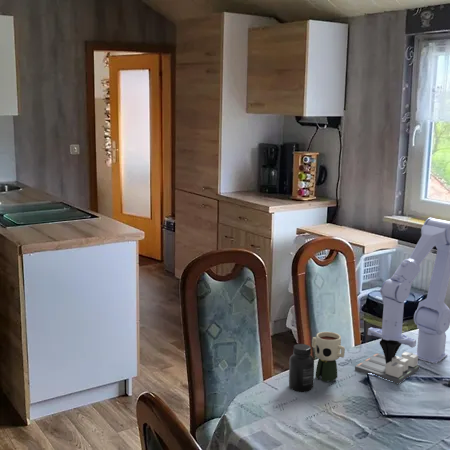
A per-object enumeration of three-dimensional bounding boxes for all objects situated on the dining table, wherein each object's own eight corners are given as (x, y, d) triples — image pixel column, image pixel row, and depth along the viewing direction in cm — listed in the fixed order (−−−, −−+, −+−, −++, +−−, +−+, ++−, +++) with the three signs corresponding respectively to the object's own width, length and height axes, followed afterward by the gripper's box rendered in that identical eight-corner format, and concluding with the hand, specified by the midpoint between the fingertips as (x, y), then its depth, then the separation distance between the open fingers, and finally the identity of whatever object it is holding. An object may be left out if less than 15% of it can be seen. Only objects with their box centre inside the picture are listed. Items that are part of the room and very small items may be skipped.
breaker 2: (404, 360, 187) (405, 351, 187) (417, 364, 185) (418, 354, 184) (401, 363, 185) (401, 353, 185) (413, 367, 183) (414, 357, 182)
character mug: (303, 376, 179) (305, 333, 176) (317, 369, 184) (320, 327, 182) (335, 388, 172) (337, 344, 169) (349, 380, 177) (351, 337, 174)
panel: (377, 356, 194) (377, 352, 194) (419, 369, 185) (419, 365, 185) (354, 369, 184) (355, 365, 184) (398, 384, 175) (398, 380, 175)
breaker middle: (395, 365, 184) (396, 355, 183) (407, 369, 181) (408, 358, 181) (391, 367, 182) (392, 357, 181) (403, 371, 180) (404, 361, 179)
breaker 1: (389, 370, 180) (390, 360, 179) (402, 375, 177) (403, 364, 177) (385, 373, 178) (386, 363, 177) (398, 377, 175) (399, 367, 175)
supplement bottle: (312, 383, 175) (314, 343, 172) (313, 393, 168) (315, 352, 166) (288, 381, 175) (290, 341, 173) (288, 392, 169) (290, 351, 166)
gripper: (363, 317, 183) (361, 360, 186) (409, 329, 174) (406, 374, 176) (375, 311, 188) (372, 353, 191) (420, 323, 179) (416, 367, 181)
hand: (389, 363), depth 184 cm, fingers closed
